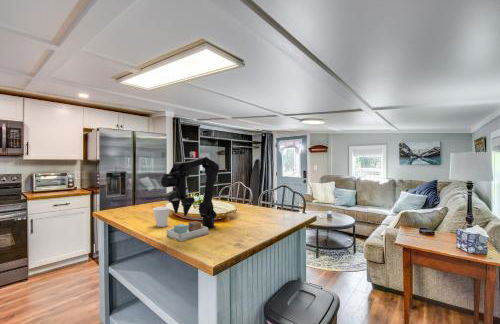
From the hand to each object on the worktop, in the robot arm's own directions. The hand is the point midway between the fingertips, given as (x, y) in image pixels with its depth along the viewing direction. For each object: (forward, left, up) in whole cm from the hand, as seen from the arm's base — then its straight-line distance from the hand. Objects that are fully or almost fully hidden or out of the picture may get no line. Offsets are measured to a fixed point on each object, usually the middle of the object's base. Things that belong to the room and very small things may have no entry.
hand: (180, 214), depth 135 cm
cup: (-4, -28, -12) cm, 31 cm away
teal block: (0, 0, -11) cm, 11 cm away
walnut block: (-9, 0, -11) cm, 14 cm away
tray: (-5, 0, -12) cm, 13 cm away
